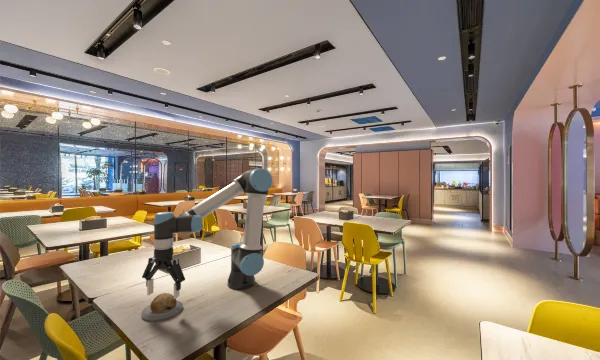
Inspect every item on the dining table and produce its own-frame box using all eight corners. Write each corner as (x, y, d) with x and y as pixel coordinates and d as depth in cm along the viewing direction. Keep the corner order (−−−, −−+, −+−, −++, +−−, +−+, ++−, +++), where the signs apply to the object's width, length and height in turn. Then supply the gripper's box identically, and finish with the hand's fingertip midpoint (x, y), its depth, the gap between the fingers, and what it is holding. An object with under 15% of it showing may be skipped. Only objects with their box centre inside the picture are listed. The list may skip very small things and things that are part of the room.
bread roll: (155, 323, 105) (160, 308, 103) (143, 307, 110) (148, 292, 108) (177, 313, 113) (182, 299, 112) (166, 298, 118) (170, 284, 117)
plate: (190, 304, 117) (190, 301, 117) (164, 323, 101) (164, 320, 101) (161, 300, 121) (161, 297, 121) (131, 318, 105) (131, 315, 105)
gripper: (194, 247, 112) (193, 295, 112) (147, 243, 118) (146, 289, 118) (182, 251, 105) (181, 303, 105) (133, 247, 110) (132, 296, 110)
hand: (163, 295), depth 111 cm, fingers open, 13 cm apart
